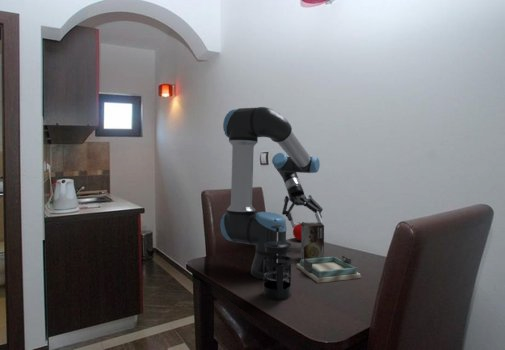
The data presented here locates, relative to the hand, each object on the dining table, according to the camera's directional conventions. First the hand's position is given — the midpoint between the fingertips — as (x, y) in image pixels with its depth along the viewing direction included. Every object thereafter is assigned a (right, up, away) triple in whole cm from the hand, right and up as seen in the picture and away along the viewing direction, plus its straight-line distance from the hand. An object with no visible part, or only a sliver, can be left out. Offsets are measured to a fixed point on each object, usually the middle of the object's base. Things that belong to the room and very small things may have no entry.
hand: (307, 225), depth 160 cm
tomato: (+2, -13, +28) cm, 31 cm away
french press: (-17, -17, -45) cm, 51 cm away
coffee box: (+1, -15, -6) cm, 16 cm away
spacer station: (+4, -15, -23) cm, 28 cm away
